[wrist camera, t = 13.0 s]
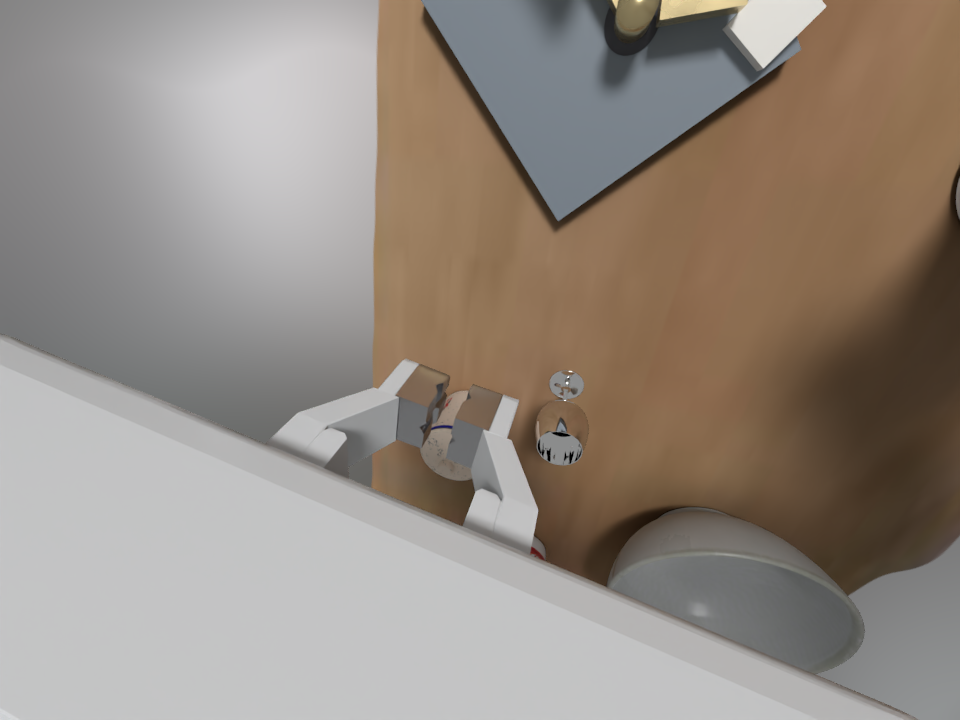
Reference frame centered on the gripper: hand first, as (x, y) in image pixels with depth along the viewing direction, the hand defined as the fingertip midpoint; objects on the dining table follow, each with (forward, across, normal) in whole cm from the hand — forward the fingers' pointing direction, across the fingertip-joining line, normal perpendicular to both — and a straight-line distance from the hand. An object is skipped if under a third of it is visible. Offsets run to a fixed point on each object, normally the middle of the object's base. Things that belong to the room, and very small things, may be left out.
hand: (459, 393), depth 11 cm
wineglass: (+30, -8, +21) cm, 38 cm away
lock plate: (+33, +2, -13) cm, 35 cm away
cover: (+31, -10, -15) cm, 36 cm away
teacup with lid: (+29, +3, +33) cm, 44 cm away
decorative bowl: (+29, -34, +39) cm, 60 cm away
